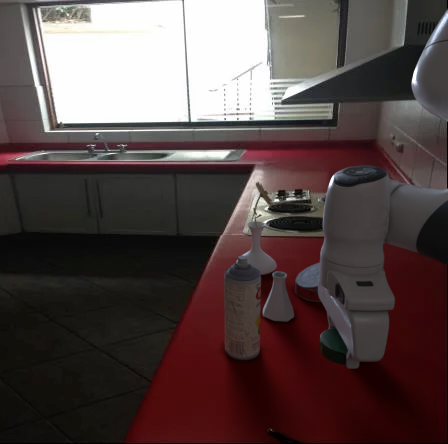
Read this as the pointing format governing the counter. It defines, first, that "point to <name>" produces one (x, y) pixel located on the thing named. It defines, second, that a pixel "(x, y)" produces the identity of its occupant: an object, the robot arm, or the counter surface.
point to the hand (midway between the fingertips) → (342, 350)
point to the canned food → (308, 283)
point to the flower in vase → (256, 254)
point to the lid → (333, 346)
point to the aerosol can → (242, 310)
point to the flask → (278, 300)
